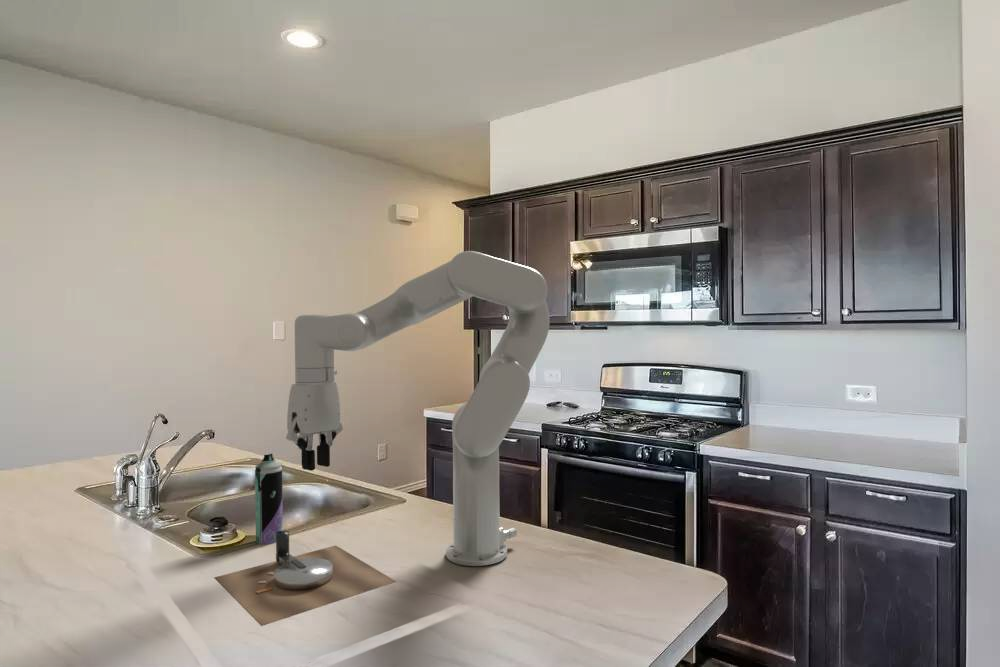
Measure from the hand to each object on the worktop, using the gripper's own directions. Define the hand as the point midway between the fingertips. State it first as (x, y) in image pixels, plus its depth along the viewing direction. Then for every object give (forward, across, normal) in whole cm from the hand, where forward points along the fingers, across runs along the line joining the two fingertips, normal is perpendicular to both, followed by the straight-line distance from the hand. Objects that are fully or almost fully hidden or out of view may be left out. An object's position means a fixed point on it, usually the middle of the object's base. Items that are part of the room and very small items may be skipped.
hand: (316, 466), depth 123 cm
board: (+19, +9, +8) cm, 23 cm away
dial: (+17, +9, +5) cm, 20 cm away
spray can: (+19, 0, -16) cm, 25 cm away
